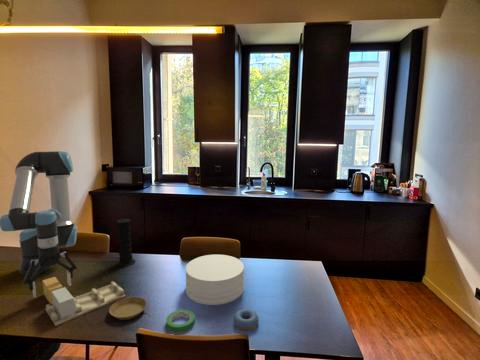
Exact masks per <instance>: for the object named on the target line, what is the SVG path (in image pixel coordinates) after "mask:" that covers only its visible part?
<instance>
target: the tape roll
mask: <svg viewBox="0 0 480 360" xmlns="http://www.w3.org/2000/svg"><path fill="white" fill-rule="evenodd" d="M178 318H186V319H188V321H186V322H184V323H180V324H179V323H178V324H177V323H174V322H173V321H174V320H176V319H178ZM195 323H196V316H195V313H194V312H193V311H191V310H188V309H177V310H174V311H172V312H171V313H169V314H168V315H167V317H166V320H165V324H166V325H165V326H166V328H167V330H168V331H169V332H172V333H176V334H180V333H184V332H188V331H189V330H190V329H192V328H193V327H194V326H195Z"/></svg>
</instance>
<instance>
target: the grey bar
mask: <svg viewBox="0 0 480 360" xmlns="http://www.w3.org/2000/svg"><path fill="white" fill-rule="evenodd" d="M73 297H74V296H73V295H72V294H71V293H70V292H69V290H68V288H67V287H66V286H64V287H63V288H61V289H58V290H55V291H52V300H53V304H52V305H53V307H54V309H55V310H56V312H57V313H58V315H59V316H60V318H61V319H63V318H65V317H68V316H70V315H73V314H75V307H74V298H73Z"/></svg>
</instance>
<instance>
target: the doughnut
mask: <svg viewBox="0 0 480 360" xmlns="http://www.w3.org/2000/svg"><path fill="white" fill-rule="evenodd" d="M233 323H234V326H236V328H237V329H240V330H243V331H250V330H253V329H255V328H256V327H257V326H258V324H259V316H258V314H257V313H256V311H254V310H252V309H248V308H242V309H240V310H237V311H236V312H235V313H234V315H233Z"/></svg>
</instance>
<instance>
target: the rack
mask: <svg viewBox="0 0 480 360" xmlns="http://www.w3.org/2000/svg"><path fill="white" fill-rule="evenodd" d="M73 298H74V307H75V314H73V315H70V316H68V317H65V318H63V319H61V318H60V316H59V315H58V313H57V312H56V310H55V309H54V307H53V304H52V305H51V304H50V303H48V304H46V305H45V311H46V313H47V314H48V316H49V318H50V319H51V322H52V323H53V325H54V327H56V326H59V325H61V324H64V323H67V322H69V321H71V320H73V319H77V318H78V317H80V316H83V315H86V314H88V313H90V312H93V311H95V310H97V309H100V308H102V307H105V306H107V305H108V306H109V305H111V304H112V303H113V304H114V303H116V302H117V301H119V300H122V299H125V298H127V297H126V294H125V290H124V289H123V288H122V287H121V286H120V285H119V284H118V283H116V282H115V281H114V280H112V281H110V284H107V285H104V286H102V287H99V288H97V289H96V287H93V288H91V291H88V292H86V293H83V294H80V295H77V296H75V297H74V296H73Z"/></svg>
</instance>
